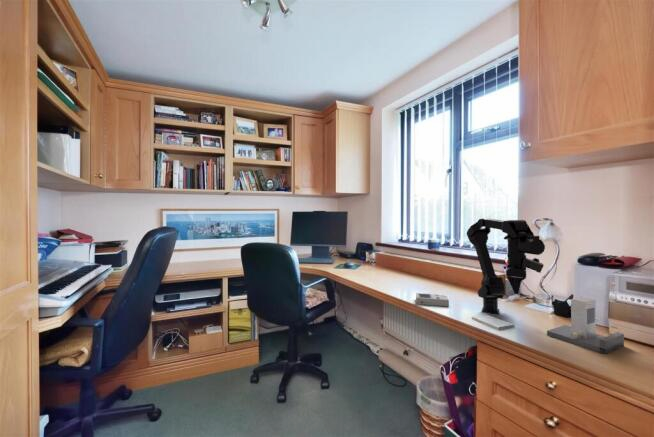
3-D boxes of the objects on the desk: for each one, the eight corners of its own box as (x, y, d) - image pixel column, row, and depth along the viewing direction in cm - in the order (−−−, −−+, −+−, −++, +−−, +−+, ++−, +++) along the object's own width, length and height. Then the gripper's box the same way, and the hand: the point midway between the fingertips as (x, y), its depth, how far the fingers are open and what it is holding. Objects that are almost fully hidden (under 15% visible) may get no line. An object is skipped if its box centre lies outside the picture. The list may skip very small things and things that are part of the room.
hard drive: (514, 324, 108) (487, 314, 120) (498, 327, 106) (471, 316, 118) (514, 329, 108) (487, 318, 120) (498, 331, 106) (471, 320, 118)
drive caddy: (571, 335, 97) (570, 299, 97) (581, 332, 100) (580, 296, 100) (586, 340, 93) (585, 302, 93) (596, 336, 96) (595, 299, 96)
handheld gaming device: (448, 307, 134) (448, 299, 134) (416, 305, 138) (416, 297, 138) (446, 302, 142) (446, 294, 142) (416, 300, 147) (416, 292, 147)
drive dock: (547, 334, 101) (547, 323, 101) (565, 328, 106) (565, 318, 106) (606, 354, 87) (606, 341, 87) (623, 346, 92) (623, 333, 92)
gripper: (543, 255, 99) (543, 300, 99) (540, 250, 114) (541, 288, 114) (505, 253, 105) (506, 295, 105) (507, 248, 121) (508, 285, 121)
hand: (516, 291), depth 111 cm, fingers open, 9 cm apart
